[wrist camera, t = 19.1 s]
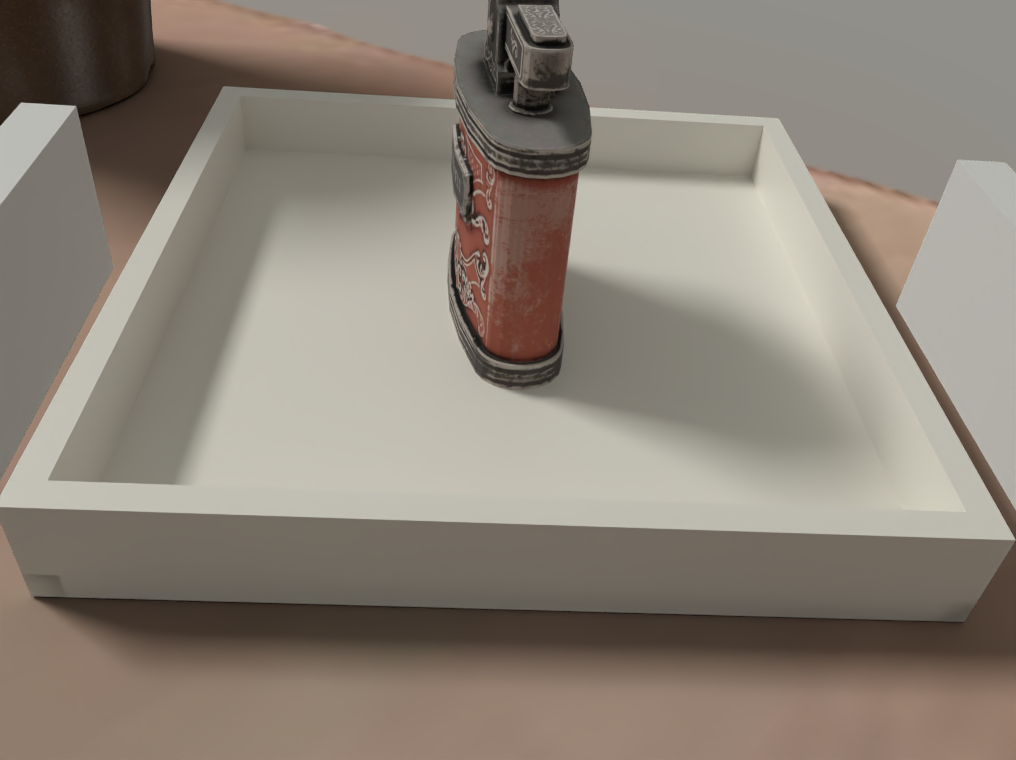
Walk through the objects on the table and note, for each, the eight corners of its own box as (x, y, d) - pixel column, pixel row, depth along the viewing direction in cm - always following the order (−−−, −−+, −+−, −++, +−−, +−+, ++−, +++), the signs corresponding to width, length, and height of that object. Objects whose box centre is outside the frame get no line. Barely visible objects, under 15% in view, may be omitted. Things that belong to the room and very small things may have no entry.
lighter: (436, 243, 33) (443, -62, 26) (531, 241, 33) (560, -59, 27) (465, 392, 27) (482, 43, 20) (580, 386, 27) (633, 44, 21)
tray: (31, 596, 21) (-7, 506, 19) (232, 157, 38) (223, 86, 36) (964, 621, 23) (1016, 540, 21) (760, 185, 40) (778, 118, 38)
